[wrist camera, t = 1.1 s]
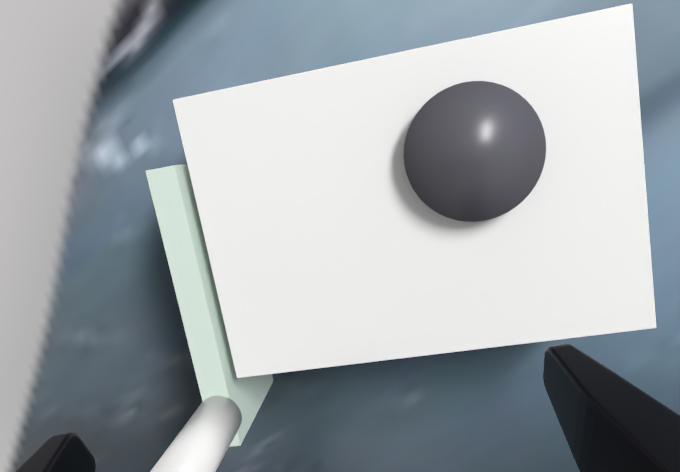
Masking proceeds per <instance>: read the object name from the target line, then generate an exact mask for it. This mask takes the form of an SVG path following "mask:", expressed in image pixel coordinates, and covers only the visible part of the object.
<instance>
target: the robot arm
mask: <svg viewBox="0 0 680 472" xmlns="http://www.w3.org/2000/svg"><path fill="white" fill-rule="evenodd" d="M543 379H544V385H545V388H546V391H547V393H548V396H549V398H550V400H551V403H552V405H553V408H554V410H555V413H556V415H557V418H558V420H559V422H560V425H561V427H562V430H563V432H564V435H565V437H566V440H567V442H568V444H569V447H570V449H571V452H572V454H573V457H574V459H575V461H576V463H577V466H578V468H579V470H580V472H680V415H678V414H677V413H675V412H674V411H672V410H671V409H669V408H668V407H666V406H665V405H663V404H662V403H660V402H659V401H657V400H656V399H654V398H652V397H651V396H649V395H648V394H646V393H645V392H643V391H642V390H640V389H639V388H637V387H636V386H634V385H633V384H631V383H630V382H628V381H626V380H625V379H623V378H622V377H620V376H619V375H617V374H616V373H614V372H613V371H611V370H610V369H608V368H607V367H605V366H604V365H602V364H600V363H599V362H597V361H596V360H594V359H593V358H591V357H590V356H588V355H587V354H585V353H584V352H582V351H581V350H579V349H578V348H576V347H575V346H573V345H571V344H568V343H564V344H558V345H553V346H549V347H547V348H546V350H545V357H544V373H543ZM95 470H96V464H95V460H94V457H93V455H92V454H91V452H90V451H89V450H88V448H87V447H86V446H85V444H84V443H83V441H82V440H81V439H80V437H79V436H78V435H77V434H75V433H67V434H61V435H56V436H53V437H51V438H50V439H48V440H47V441H46V442H45V443H44V444H43V445H42V446H41V447H40V448H39V449H38V450H37V451H36V452H35V453H34V454H33V455H32V456H31V457H30V458H29V459H28V460H27V461H26V462H25V463H24V464H23V465H22V466H21V467H20V468H19V469H18V470H17V471H16V472H95Z"/></svg>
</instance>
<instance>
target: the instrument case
mask: <svg viewBox="0 0 680 472" xmlns="http://www.w3.org/2000/svg"><path fill="white" fill-rule="evenodd" d="M173 104H174V108H175V112H176V117H177V121H178V125H179V130H180V134H181V138H182V143H183V147H184V151H185V156H186V160H187V164H188V169H189V173H190V177H191V181H192V186H193V190H194V194H195V199H196V203H197V207H198V212H199V216H200V220H201V225H202V229H203V233H204V238H205V242H206V246H207V251H208V255H209V259H210V264H211V268H212V272H213V276H214V281H215V285H216V289H217V294H218V298H219V302H220V307H221V311H222V315H223V320H224V324H225V328H226V333H227V337H228V341H229V346H230V350H231V354H232V359H233V363H234V367H235V371H236V376H237V378H242V377H250V376H258V375H267V374H275V373H283V372H292V371H300V370H308V369H317V368H325V367H333V366H342V365H350V364H358V363H367V362H375V361H383V360H392V359H400V358H408V357H417V356H425V355H433V354H442V353H450V352H458V351H467V350H475V349H483V348H492V347H500V346H508V345H517V344H525V343H533V342H542V341H550V340H558V339H567V338H575V337H583V336H592V335H600V334H608V333H617V332H625V331H633V330H642V329H650V328H656V317H655V303H654V290H653V276H652V263H651V249H650V236H649V222H648V209H647V196H646V182H645V169H644V155H643V142H642V128H641V115H640V101H639V88H638V74H637V61H636V47H635V34H634V20H633V7H632V4H627V5H622V6H618V7H613V8H608V9H603V10H598V11H594V12H589V13H584V14H579V15H575V16H570V17H565V18H560V19H556V20H551V21H546V22H541V23H536V24H532V25H527V26H522V27H517V28H513V29H508V30H503V31H498V32H494V33H489V34H484V35H479V36H474V37H470V38H465V39H460V40H455V41H451V42H446V43H441V44H436V45H432V46H427V47H422V48H417V49H412V50H408V51H403V52H398V53H393V54H389V55H384V56H379V57H374V58H370V59H365V60H360V61H355V62H350V63H346V64H341V65H336V66H331V67H327V68H322V69H317V70H312V71H308V72H303V73H298V74H293V75H288V76H284V77H279V78H274V79H269V80H265V81H260V82H255V83H250V84H246V85H241V86H236V87H231V88H226V89H222V90H217V91H212V92H207V93H203V94H198V95H193V96H188V97H184V98H179V99H174V100H173Z"/></svg>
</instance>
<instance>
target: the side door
mask: <svg viewBox="0 0 680 472" xmlns="http://www.w3.org/2000/svg"><path fill="white" fill-rule="evenodd" d="M146 175H147V179H148V183H149V187H150V191H151V195H152V199H153V203H154V207H155V211H156V215H157V219H158V223H159V227H160V231H161V236H162V240H163V244H164V248H165V252H166V256H167V260H168V264H169V268H170V272H171V276H172V280H173V284H174V288H175V292H176V296H177V300H178V304H179V309H180V313H181V317H182V321H183V325H184V329H185V333H186V337H187V341H188V345H189V349H190V353H191V357H192V361H193V365H194V369H195V373H196V377H197V382H198V386H199V390H200V394H201V398H202V403H201V404H200V406H199V407H198V408H197V410H196V411H195V412H194V414H193V415H192V416H191V418H190V419H189V420H188V422H187V423H186V424H185V426H184V427H183V428H182V430H181V431H180V432H179V434H178V435H177V436H176V438H175V439H174V440H173V442H172V443H171V444H170V446H169V447H168V449H167V450H166V451H165V453H164V454H163V455H162V457H161V458H160V459H159V461H158V462H157V463H156V465H155V466H154V467H153V469H152V470H151V471H150V472H216V470H217V468H218V466H219V464H220V462H221V461H222V459H223V457H224V455H225V453H226V451H227V450H228V448H229V447H231V446H241V444H242V442H243V440H244V438H245V436H246V434H247V432H248V430H249V428H250V426H251V424H252V422H253V420H254V418H255V416H256V414H257V412H258V410H259V408H260V406H261V405H262V403H263V401H264V399H265V397H266V395H267V393H268V391H269V389H270V387H271V385H272V383H273V381H274V380H273V376H272V374H267V375H258V376H250V377H242V378H237V376H236V371H235V367H234V363H233V359H232V354H231V350H230V346H229V341H228V337H227V333H226V328H225V324H224V320H223V315H222V311H221V307H220V302H219V298H218V294H217V289H216V285H215V281H214V276H213V272H212V268H211V264H210V259H209V255H208V251H207V246H206V242H205V238H204V233H203V229H202V225H201V220H200V216H199V212H198V207H197V203H196V199H195V194H194V190H193V186H192V181H191V177H190V173H189V169H188V164H183V165H174V166H168V167H163V168H158V169H153V170H147V171H146Z"/></svg>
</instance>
